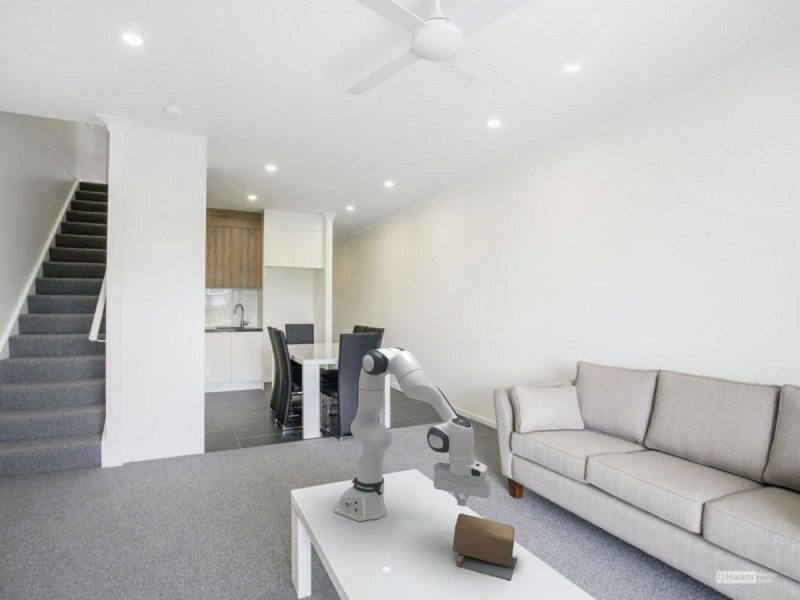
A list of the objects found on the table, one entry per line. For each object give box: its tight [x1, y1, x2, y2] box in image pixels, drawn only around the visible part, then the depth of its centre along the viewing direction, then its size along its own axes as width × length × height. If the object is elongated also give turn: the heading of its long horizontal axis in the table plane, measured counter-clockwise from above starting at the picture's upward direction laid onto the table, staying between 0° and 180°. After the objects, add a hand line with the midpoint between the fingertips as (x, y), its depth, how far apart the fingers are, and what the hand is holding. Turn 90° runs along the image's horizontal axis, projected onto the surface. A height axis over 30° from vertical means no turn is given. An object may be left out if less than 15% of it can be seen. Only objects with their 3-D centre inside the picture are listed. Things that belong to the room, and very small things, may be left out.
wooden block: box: [452, 513, 515, 567], centre depth 151 cm, size 10×10×20 cm
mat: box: [455, 554, 518, 581], centre depth 147 cm, size 18×13×2 cm
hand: (461, 505), depth 151 cm, fingers closed
